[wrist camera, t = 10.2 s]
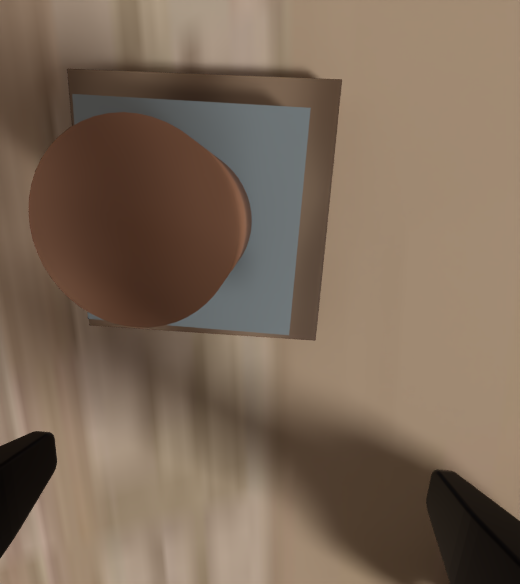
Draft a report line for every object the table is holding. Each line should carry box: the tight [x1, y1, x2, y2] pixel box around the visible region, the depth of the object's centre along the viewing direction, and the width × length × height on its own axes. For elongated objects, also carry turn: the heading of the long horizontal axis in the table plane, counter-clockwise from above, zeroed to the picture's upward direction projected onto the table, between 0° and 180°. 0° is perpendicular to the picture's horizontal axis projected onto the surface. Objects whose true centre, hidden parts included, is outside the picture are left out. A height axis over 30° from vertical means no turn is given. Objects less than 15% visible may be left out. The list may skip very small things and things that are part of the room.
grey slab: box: [72, 94, 311, 335], centre depth 15 cm, size 9×9×2 cm
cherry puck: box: [29, 112, 252, 328], centre depth 11 cm, size 6×6×5 cm
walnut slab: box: [67, 69, 342, 340], centre depth 17 cm, size 12×12×2 cm
